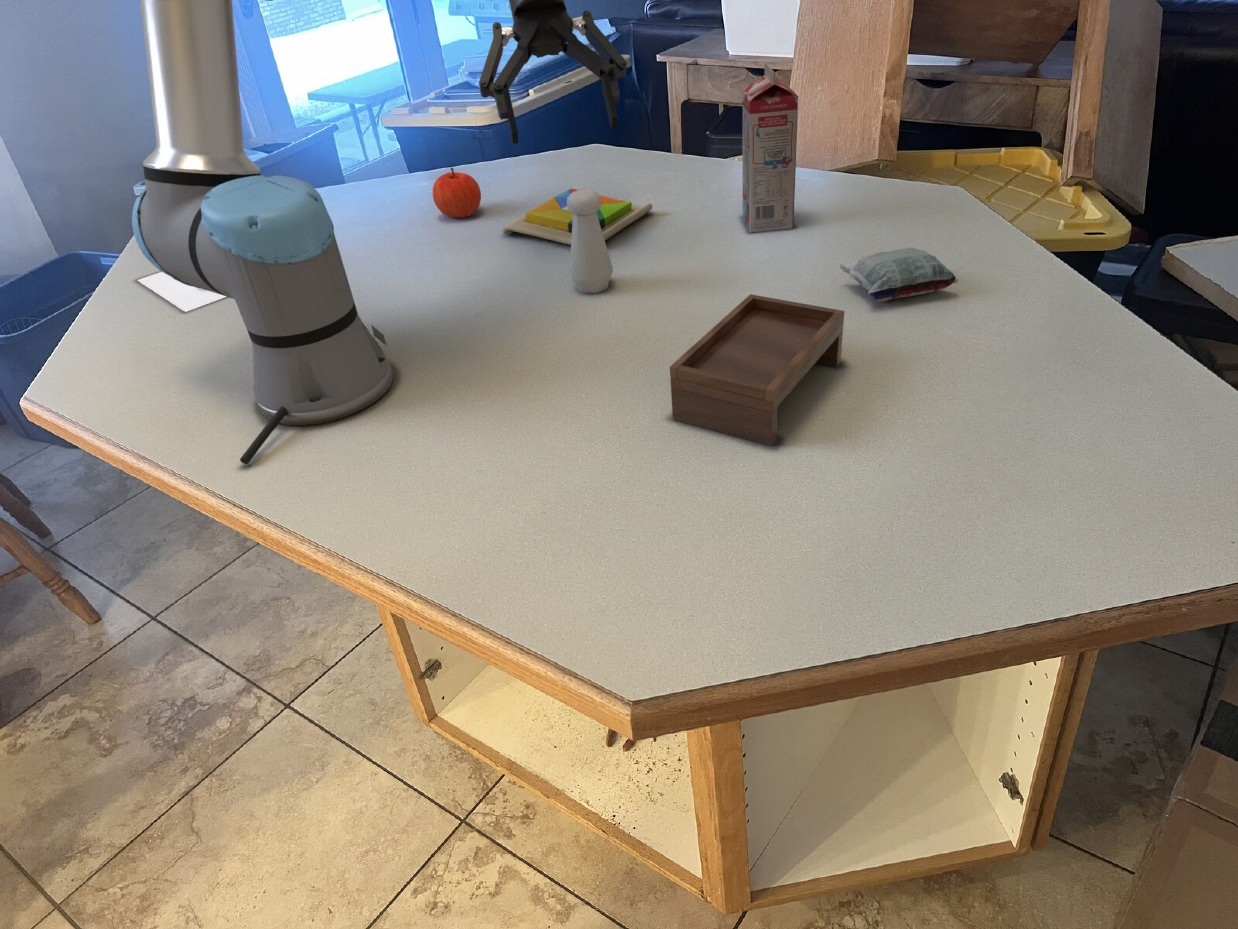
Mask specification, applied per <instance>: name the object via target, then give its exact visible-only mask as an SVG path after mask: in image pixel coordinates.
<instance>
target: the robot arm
mask: <svg viewBox="0 0 1238 929" xmlns="http://www.w3.org/2000/svg"><path fill="white" fill-rule="evenodd" d="M508 4H509V6H510V7H509V8H510V12H511V18H512V21H513V24H512V26H503V25H502V24H501V23H500V22H497V21H496V22H493V23H492V40H491V44H490V47H489V50H488V53H487V56H486V60H485V63H484V65H483V69H482V71H481V74H480V77H479V81H478V85H479V92H480V93H479V94H480V96H481V97H482V98H484V99H487V98H488V97H491V98H493V99H494V101H495V104H496V109H497V114H498V115H497V116H498V118H499V119H500V120H507V122H508V127H509V133H510V136H511V141H512V145H517V144H519V132H518V127H517V122H516V118H515V113H514V107H513V102H512V98H511V93H510V88H511V86H512V85H513V83H514V81H515V80H516V79H517V77H518V75H519V74H520V73H521V70H522V69H523V68H524V66H525V65H526V64H528V62H529V61H530V59H531V57H532V56H534V57H536V58H537V59H538V58H543V57H546V56H559V55H560V53H563V54H564V55H565V56H566V57H568V58H570V59H571V58H573V59H574V60H575V61H576V62H578V63H579V64H581V65H582V66H583V67H585V68H586V69H587V70H589V71H590V72H591V73H592V74H594V75H595V76H596V77H597V78H599V79H601V86H600V87H601V91H602V95H603V100H604V105H605V109H606V112H607V113H606V114H607V117H608V118H607V119H608V123H609V126H610V130H616V129H617V128H618V121H619V120H618V118H619V116H618V111H617V106H616V104H619V101H620V94H621V91H620V87H619V83H618V79H624V78H625V77H626V74H627V67H628V62H627V60H626V59H625V57H624V56H622V54H621V53H620V52H619V51H618V49H617V48H616V47H615V46H614V45H613V43H612V42H611V41H610V40H609V39H608V37H607V36H606V35H605V34H604V33H603V31H602V30H601V29H600V28H599V27H598V26H597V25H596V23H595V20H594V18H593V15H592V12H591V11H590V10H584V11H583V12H582V15H581V16H578V17H574V18H572V17H571V16H570V15H569V13H568V10H567V5H566V1H565V0H508ZM139 5H140V13H141V21H142V22H141V23H142V30H143V38H144V47H145V55H146V56H145V57H146V63H147V64H146V65H147V73H148V81H149V82H148V83H149V89H150V97H151V98H150V99H151V106H152V107H151V108H152V114H153V115H152V116H153V124H154V132H155V133H154V134H155V140H156V141H155V142H156V144H155V148H154V150H153V151H151V153H150V154H149V155H148V156H147V157H146V158H145V159H144V160H143V162H142V168H143V177H144V184H145V187H144V188H143V189H142V192H141V193H140V194H139V196H137V197H136V199H135V202H134V204H133V207H132V213H131V228H132V232H133V235H134V239H135V241H136V243H137V246H138V247H139V249H140V251H141V252H142V254H143V255H144V257H145V258H146V259H147V260H148V261H149V262H150V264H152V266H154V267H155V268H156V269H158V270H159V271H160V272H163V273H165V274H167V275H169V276H171V277H172V278H173V279H175V280H177V281H179V282H181V283H183V284H185V285H188V286H193V287H196V288H202V289H205V290H208V291H211V292H214V293H217V294H220V295H223V296H227V297H226V298H231V299H233V300H234V301H235V303H236V306H237V308H238V311H239V314H240V316H241V319H242V322H243V324H244V326H245V329H246V331H247V333H248V336H249V339H250V341H251V344H252V364H253V365H252V366H253V368H252V369H253V392H254V398H255V401H256V403H257V406H258V408H259V411H260V413H261V414H262V415H263V417H265V418H266V419H268V420H269V421H268V422H267V423H266V425H265V426H264V427H263V429H262V430H261V431H260V433H259V434H257V436H256V437H255V439H254V440H253V441H252V442H251V443H250V445H249V446H248V448H246V450H245V452H244V453H243V454H242V455H241V457H240V458H239V461H240V463H242V464H243V465H248V464H249V463H250V462H251V461H252V459H253V458H254V457H255V455H256V454H257V452H258V451H259V450H260V448H262V446H263V444H264V443H265V442H266V441H267V440H268V438H269V436H270V435H271V434H272V433H273V432H274V430H275V429H276V428H277V426H278V425H279V424H282V425H288V426H308V425H309V426H310V425H318V424H324V423H328V422H332V421H336V420H340V419H342V418H346V417H348V416H351V415H353V414H355V413H356V414H357V413H358V412H360V411H362V410H363V409H365V408H367V407H369V406H371V405H373V404H374V403H376V401H378V400H380V398H381V397H383V396H384V395H385V394H386V392H387V391H388V390H389V389H390V387H391V386H392V382H393V379H394V376H393V375H394V374H393V370H392V367H391V363H390V360H389V358H388V356H387V355H386V353H385V351H384V350H383V349H382V347H381V345H379V343H378V341H377V340H379V341H380V342H381V343H382V344H383V345H385V346H386V347H388V345H387V342H386V338H385V335H384V334H383V333H382V332H381V331H379V329H377V328H376V327H375V326H374V325H372V324H370V326H371V329H372V332H373V335H372V333H371V332H370V330H369V329H368V328H367V326H366V325H365V323H364V322H363V321H362V319H361V318H360V316H359V313H358V309H357V306H356V302H355V300H354V296H353V292H352V289H351V285H350V283H349V282H350V281H349V279H348V276H347V272H346V268H345V265H344V262H343V258H342V256H341V252H340V248H339V244H338V242H337V238H336V236H335V225H334V223H333V220H332V218H331V216H330V214H329V211H328V210H327V207H326V205H325V203H324V200H323V198H322V196H321V194H320V193H319V191H318V189H316V188H315V187H314V186H312V185H311V184H310V183H308V182H306V181H305V180H302V179H299V178H295V177H291V176H286V175H277V174H276V175H275V174H273V175H272V176H265V175H263V174H262V175H261V168H259V166H258V165H257V164H256V163H255V162H254V161H253V160H252V159H251V158H250V157H249V156H248V155H247V154H246V152H245V146H244V145H245V144H244V132H243V120H242V118H243V117H242V107H241V95H240V82H239V69H238V57H237V43H236V32H235V20H234V19H235V18H234V17H235V16H234V6H233V5H234V4H233V0H139ZM574 30H576V31H578V32H579V34H580V35H581V36H582V37H584V36H585V38H586V41H587V42H588V43H589V44H590V45H591V47H592V48H593V49H594V50H595V51H594V50H592V48H590V47H589V46H587V45H586V44H585V43H584V42H582V41H581V40H579V38H578V37H577V35H576V34H575V33H574ZM511 39H513V40H514V41H515V42H516V43H517V44H516V47H515V49H514V51H513V53H512V54H511V56H510V57H509V58H508V60H507V62H506V64H505V65H504V66H503V68H502V70H501V71H500V73H499V75H498V76H497V77H496V75H497V72H498V69H499V66H500V64H501V63H500V62H501V60H502V56H503V53H504V47H506V46H507V45H508V44H509V41H510V40H511ZM375 338H376V339H377V340H376V339H375Z"/></svg>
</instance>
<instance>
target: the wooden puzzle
mask: <svg viewBox="0 0 1238 929" xmlns="http://www.w3.org/2000/svg"><path fill="white" fill-rule="evenodd" d="M578 190H579V189H575V188H569V189H567V190H565V191H563V192H561V193H559V194H558V195H556V196H554V197H552V198H550V199H548V200H547V201H545V202H543V203H541V204H539V205H538V206H536V207H533V208H532V209H530V210H529V211H527V212H525V214H523V215H522V216H520V217H518V218H517V219H515V220H513V221H511V222H509V223H507V224H506V225H503V227H502V228H501V229H502V233H503V234H505V235H507V234H510V233H512V232H516V233H519V234H524V235H529V236H531V237H537V238H540V239H543V240H544V239H545V240H549V241H552V242H556V243H561V244H564V245H568V246H571V241H572V222H573V214H572V213H570V212H569V210H568V207H567V198H568V196H569V195H570V194H571V193H572V192H574V191H578ZM599 197H600V202H601V206H600V209H599V210H598V211H596V212H597V216H598V220H599V223H600V227H601V230H602V234H603V237H604V240H605V241H606V240H608V239H610V238H612V236H614V235H616V234H618V233H619V232H620V231H622V230H623V229H625V228H626V227H627V226H629V225H631V224H633V223H634V222H635V221H637V220H638V219H640V218H641V217H643V216H644V215H646V214H647V213H649V212H651V210H652V209H653V203H651V202H648V203H646V204H644V205H643V206H641V205H637V204H632V201H626V200H623V199H618V198H615V197H614V198H613V197H610V196H609V197H608V196H603V195H599Z"/></svg>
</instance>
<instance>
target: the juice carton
mask: <svg viewBox="0 0 1238 929" xmlns="http://www.w3.org/2000/svg"><path fill="white" fill-rule="evenodd" d="M798 111H799V95H798V94H797V93H796V92H795V91H794V90H793V89H792V88H791V87H790V85H788V84H787V83H785V82H783V81H781V80H779V79H776V74H775V71H774V70H773V69H772V68H771V67H770V66H769V64H768V63H767V62H764V75H763V76H761V77H760V78H758V79H757V80H755V81H753V82H752V83H751V84H749V85H747V86H746V87H745V88H744V89H743V90H742V195H741V196H742V198H741V199H742V206H741V207H742V210H741V211H742V212H741V213H742V216H741V217H742V220H743V222H744V224H745V226H746V228H747V231H748V233H749V234H750V233H751V234H753V233H762V232H771V231H781V230H792V229H794V222H795V197H796V196H795V193H796V192H795V191H796V170H797V169H796V167H797V144H798V143H797V142H798V141H797V140H798V116H799V114H798Z"/></svg>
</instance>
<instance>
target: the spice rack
mask: <svg viewBox="0 0 1238 929" xmlns="http://www.w3.org/2000/svg"><path fill="white" fill-rule="evenodd" d="M844 322H845V310H843V309H835V308H830V307H824V306H818V305H812V304H808V303H802V302H797V301H790V300H786V299H780V298H774V297H769V296H763V295H757V294H752V293H750V294H749V295H748V296H746V297H745V298H744V299H743V300H742V301H740V303H739V304H738V305H736V307H734V308H733V309H732V310H730V312H729V313H728V314H726V316H724V317H723V318H722V319H721V320H719V321H718V323H717V324H715V325H714V326H713V327H712V328H711V329H710V330H708V331H707V332H706V333H705V334H704V335H703V336H702V337H701V338H700V339H699V340H698V341H696V342H695V343H694V344H693V345H692V346H691V347H690V348H689V349H687V351H685V353H683V354H682V355H681V356H680V357H678V359H676V361H674V362H673V363H672V364H671V365H670V366H669V378H670V379H669V380H670V394H671V395H670V396H671V412H672V413H671V414H672V420H674V421H678V422H681V423H685V424H690V425H692V426H696V427H699V428H703V429H707V430H710V431H714V432H718V433H721V434H725V435H729V436H733V437H737V438H740V439H744V440H747V441H751V442H755V443H759V444H763V445H765V446H769V447H772V446H773V445H774V444H775V442H776V441H777V437H778V436H777V435H778V434H777V432H778V407H779V406H780V405H781V404H782V402H783V401H784V400H785V399H786V397H787V396H788V395H789V394H790V393H791V392H792V390H793V389H794V388H795V387H796V386H797V385H798V384H799V382H801V380H802V379H803V378H804V377H805V375H806V374H807V373H808V372H809V371H810V370H811V369H812V367H813V366H814V365H815V364H816V363H818V364H822V365H827V366H831V367H838V366H839V364H840V363H841V360H842V348H843V337H844V336H843V335H844Z"/></svg>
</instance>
